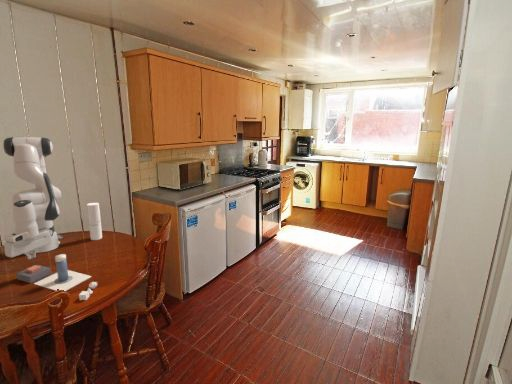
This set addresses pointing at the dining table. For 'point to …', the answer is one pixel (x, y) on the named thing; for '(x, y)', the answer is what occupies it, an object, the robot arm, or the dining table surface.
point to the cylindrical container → (94, 221)
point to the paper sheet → (54, 284)
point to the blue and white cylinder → (61, 267)
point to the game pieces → (85, 294)
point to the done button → (33, 269)
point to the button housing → (33, 274)
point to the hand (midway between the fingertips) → (31, 258)
